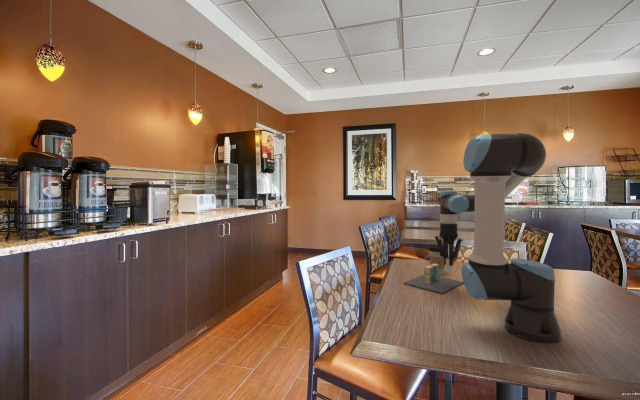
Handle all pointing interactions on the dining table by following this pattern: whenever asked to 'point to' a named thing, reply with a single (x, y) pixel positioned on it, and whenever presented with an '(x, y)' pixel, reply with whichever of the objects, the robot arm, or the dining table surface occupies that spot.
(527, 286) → the robot arm
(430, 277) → the tan and green block
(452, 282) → the mat
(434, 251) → the coffee cup
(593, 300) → the dining table surface
